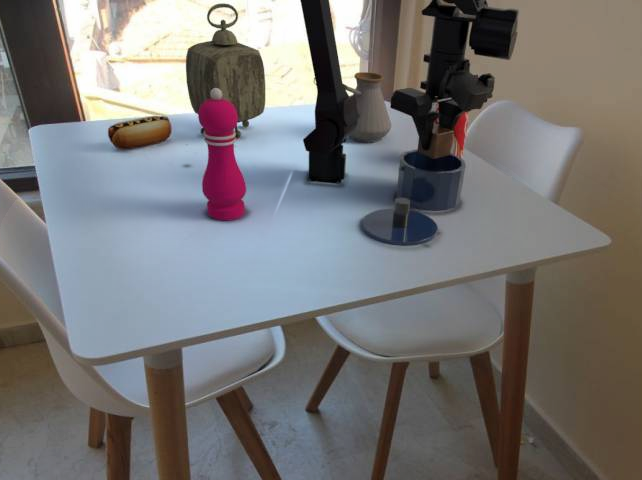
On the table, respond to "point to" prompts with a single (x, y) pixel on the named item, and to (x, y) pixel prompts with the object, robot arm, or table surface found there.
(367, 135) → the coffee pot
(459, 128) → the soda can
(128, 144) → the hot dog
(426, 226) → the lid
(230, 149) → the pepper mill
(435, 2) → the robot arm
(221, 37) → the tabletop clock
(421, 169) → the pot
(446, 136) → the block
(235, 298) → the table surface
